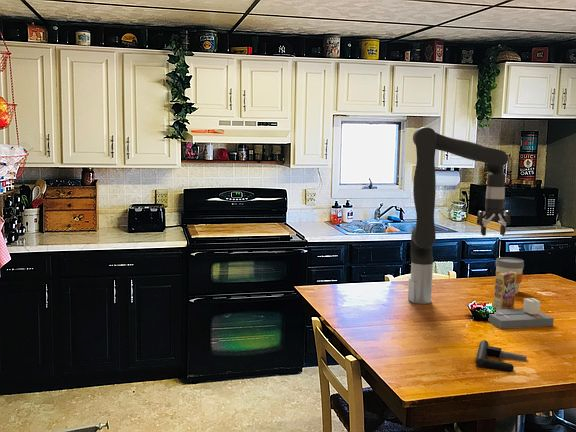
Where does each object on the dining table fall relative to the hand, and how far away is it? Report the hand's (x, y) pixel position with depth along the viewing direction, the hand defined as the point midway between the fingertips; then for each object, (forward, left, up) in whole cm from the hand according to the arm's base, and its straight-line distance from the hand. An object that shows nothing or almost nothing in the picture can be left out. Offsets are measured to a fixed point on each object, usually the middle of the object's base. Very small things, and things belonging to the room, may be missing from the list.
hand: (492, 235), depth 257 cm
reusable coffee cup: (+20, +18, -30) cm, 41 cm away
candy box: (+3, -7, -30) cm, 31 cm away
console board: (-2, -25, -30) cm, 39 cm away
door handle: (-30, -61, -31) cm, 75 cm away
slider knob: (+4, -25, -27) cm, 37 cm away
